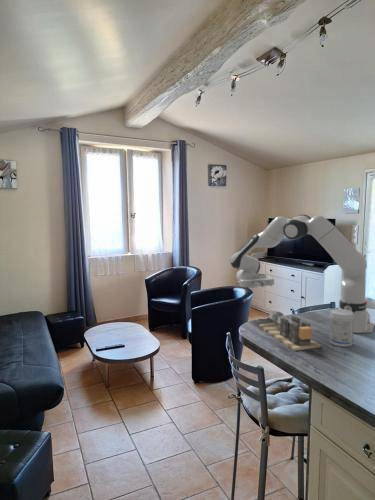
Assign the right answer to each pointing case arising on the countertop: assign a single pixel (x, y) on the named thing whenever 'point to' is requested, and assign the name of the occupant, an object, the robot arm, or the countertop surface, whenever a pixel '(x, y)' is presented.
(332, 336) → the supplement tub
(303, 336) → the orange block
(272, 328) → the wooden board
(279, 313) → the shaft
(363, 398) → the countertop surface
